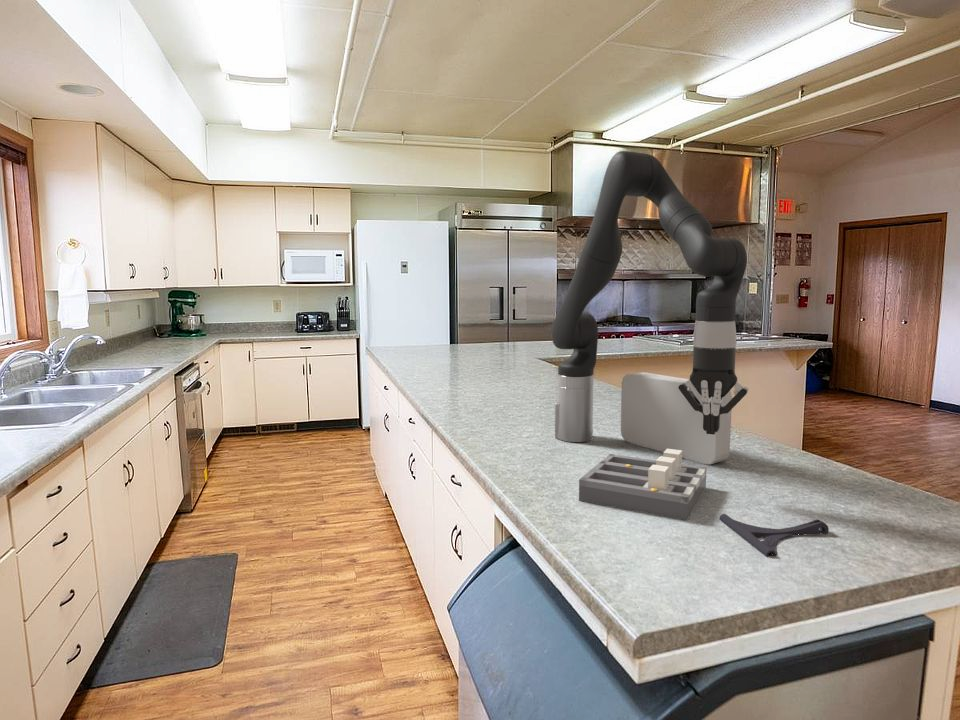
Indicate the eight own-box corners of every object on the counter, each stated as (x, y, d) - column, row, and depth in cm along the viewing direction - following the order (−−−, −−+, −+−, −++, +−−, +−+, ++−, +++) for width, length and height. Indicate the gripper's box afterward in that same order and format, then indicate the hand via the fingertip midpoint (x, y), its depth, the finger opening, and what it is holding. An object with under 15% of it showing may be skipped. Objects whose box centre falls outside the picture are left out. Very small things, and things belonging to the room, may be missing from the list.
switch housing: (578, 500, 114) (579, 478, 114) (609, 472, 131) (610, 453, 130) (687, 520, 104) (688, 496, 104) (705, 487, 121) (706, 466, 120)
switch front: (642, 491, 110) (642, 468, 109) (646, 485, 113) (647, 463, 112) (670, 495, 107) (670, 472, 107) (674, 489, 110) (674, 467, 110)
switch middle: (650, 481, 115) (650, 459, 114) (654, 476, 118) (655, 455, 117) (676, 485, 112) (677, 463, 112) (680, 480, 115) (681, 458, 115)
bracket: (856, 555, 92) (858, 538, 92) (765, 560, 91) (766, 543, 90) (798, 519, 106) (799, 504, 106) (718, 523, 105) (719, 508, 105)
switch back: (657, 472, 120) (658, 451, 120) (661, 468, 123) (662, 447, 122) (683, 476, 118) (684, 455, 117) (686, 471, 121) (687, 451, 120)
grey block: (735, 461, 138) (739, 385, 135) (715, 467, 134) (718, 388, 131) (639, 435, 161) (641, 370, 159) (620, 440, 157) (621, 372, 155)
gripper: (674, 345, 113) (671, 434, 116) (750, 347, 107) (746, 442, 109) (682, 341, 120) (679, 425, 122) (754, 344, 113) (750, 433, 116)
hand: (711, 433), depth 116 cm, fingers closed
